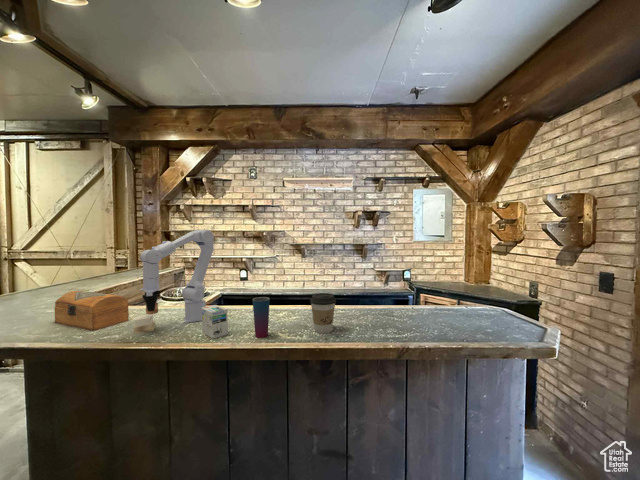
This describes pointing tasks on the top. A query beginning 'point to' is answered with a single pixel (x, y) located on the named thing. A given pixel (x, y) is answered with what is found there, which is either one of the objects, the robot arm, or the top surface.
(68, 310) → the wooden box
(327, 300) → the coffee cup
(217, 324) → the light bulb box
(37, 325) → the top surface
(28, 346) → the top surface
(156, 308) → the cylinder
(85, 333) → the top surface
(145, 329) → the tower base
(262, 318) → the cup
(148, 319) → the tower top
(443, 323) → the top surface
